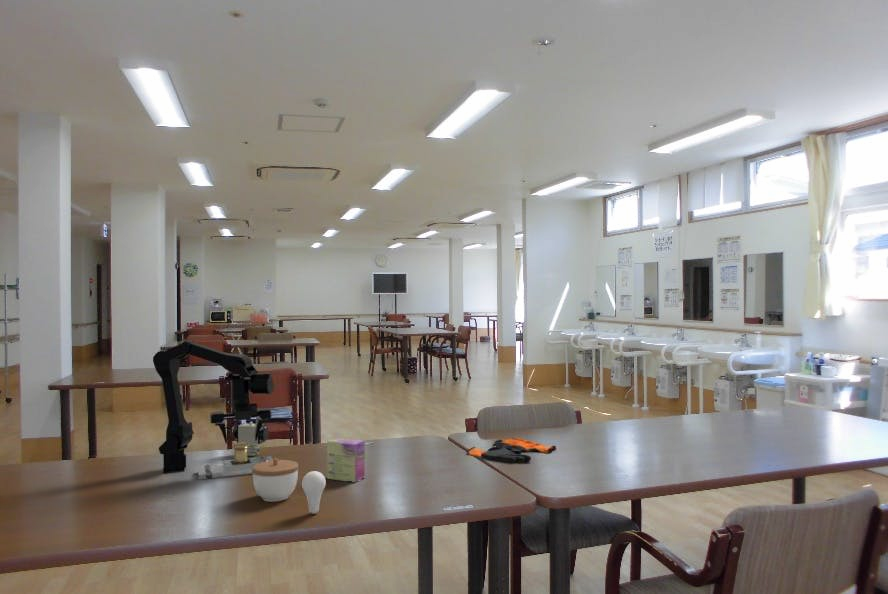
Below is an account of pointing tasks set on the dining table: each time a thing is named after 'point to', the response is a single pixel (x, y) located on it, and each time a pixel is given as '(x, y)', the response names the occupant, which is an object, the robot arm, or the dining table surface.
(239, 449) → the brass knob
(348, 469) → the box
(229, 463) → the silver plate
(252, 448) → the pneumatic valve
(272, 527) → the dining table surface
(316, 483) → the lightbulb
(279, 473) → the lidded bowl
